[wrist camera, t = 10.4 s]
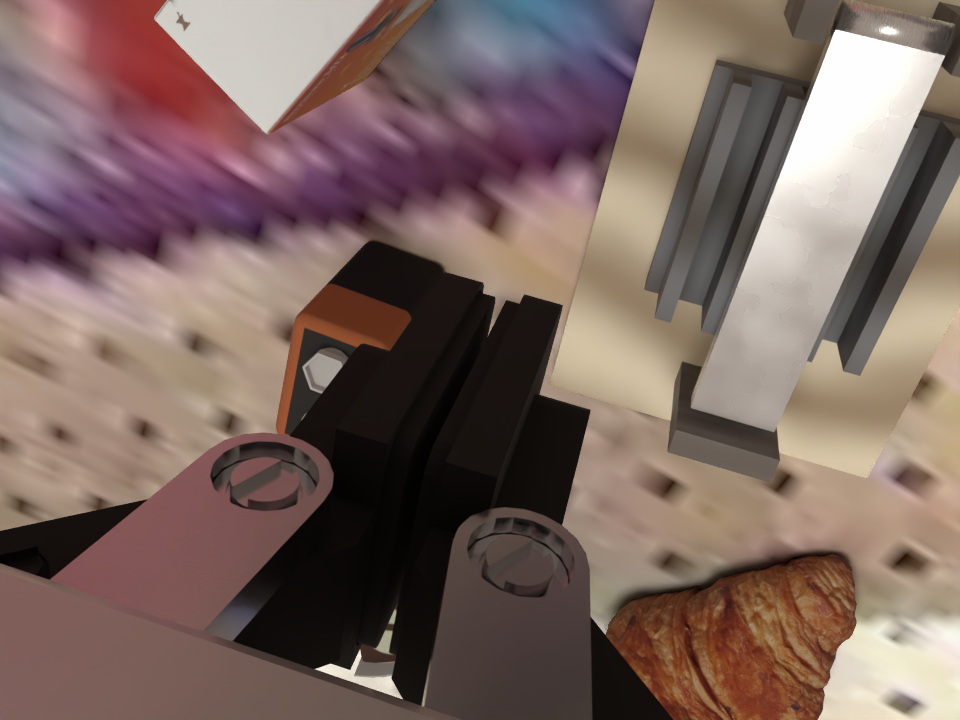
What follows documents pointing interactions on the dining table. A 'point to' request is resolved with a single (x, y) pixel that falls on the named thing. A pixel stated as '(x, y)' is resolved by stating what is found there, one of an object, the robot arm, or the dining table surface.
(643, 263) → the heatsink board
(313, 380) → the battery
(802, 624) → the pastry
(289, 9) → the small box
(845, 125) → the clamp bar
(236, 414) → the dining table surface
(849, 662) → the dining table surface
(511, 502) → the robot arm
